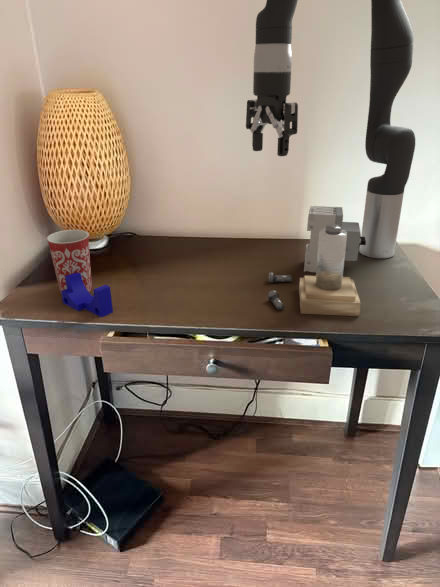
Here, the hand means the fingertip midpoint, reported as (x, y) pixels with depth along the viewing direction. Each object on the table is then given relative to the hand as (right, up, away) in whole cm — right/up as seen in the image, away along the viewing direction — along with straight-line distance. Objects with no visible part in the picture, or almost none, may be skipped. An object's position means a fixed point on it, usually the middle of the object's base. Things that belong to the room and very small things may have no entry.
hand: (269, 153), depth 102 cm
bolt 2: (+2, -33, +1) cm, 33 cm away
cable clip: (-40, -33, +1) cm, 52 cm away
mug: (-45, -29, +11) cm, 54 cm away
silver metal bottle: (+13, -28, +1) cm, 31 cm away
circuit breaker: (+18, -24, +20) cm, 36 cm away
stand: (+13, -32, +2) cm, 35 cm away
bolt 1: (+4, -27, +13) cm, 30 cm away
